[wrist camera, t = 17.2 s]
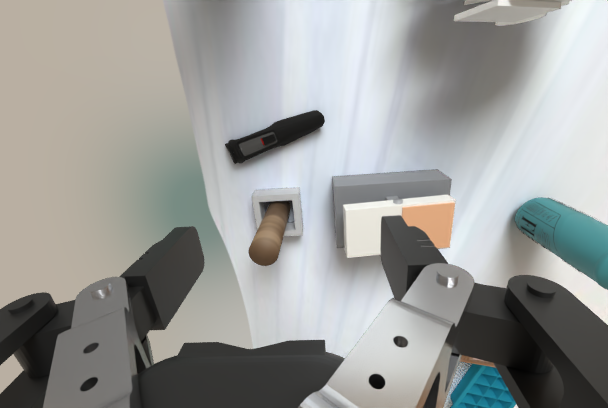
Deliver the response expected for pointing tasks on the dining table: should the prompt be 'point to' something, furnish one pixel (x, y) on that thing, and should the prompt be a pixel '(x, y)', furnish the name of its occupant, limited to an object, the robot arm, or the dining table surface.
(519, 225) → the beverage bottle
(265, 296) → the dining table surface
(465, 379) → the ice cube tray
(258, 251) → the wooden peg
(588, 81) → the dining table surface
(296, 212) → the holder
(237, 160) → the electric trimmer
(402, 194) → the switch box
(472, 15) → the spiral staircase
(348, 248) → the rocker switch
